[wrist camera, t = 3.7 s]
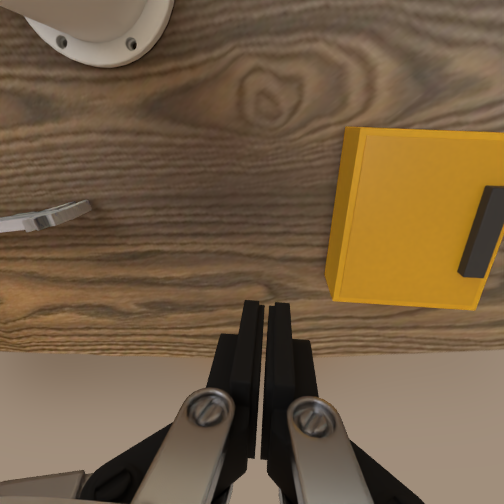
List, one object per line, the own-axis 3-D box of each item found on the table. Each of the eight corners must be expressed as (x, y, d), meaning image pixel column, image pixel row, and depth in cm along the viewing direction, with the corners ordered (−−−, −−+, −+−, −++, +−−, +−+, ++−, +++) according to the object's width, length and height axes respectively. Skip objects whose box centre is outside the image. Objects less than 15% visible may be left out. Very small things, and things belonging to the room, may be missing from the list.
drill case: (324, 275, 31) (334, 307, 26) (345, 126, 26) (364, 127, 20) (450, 282, 31) (489, 318, 25) (499, 132, 25) (562, 135, 20)
